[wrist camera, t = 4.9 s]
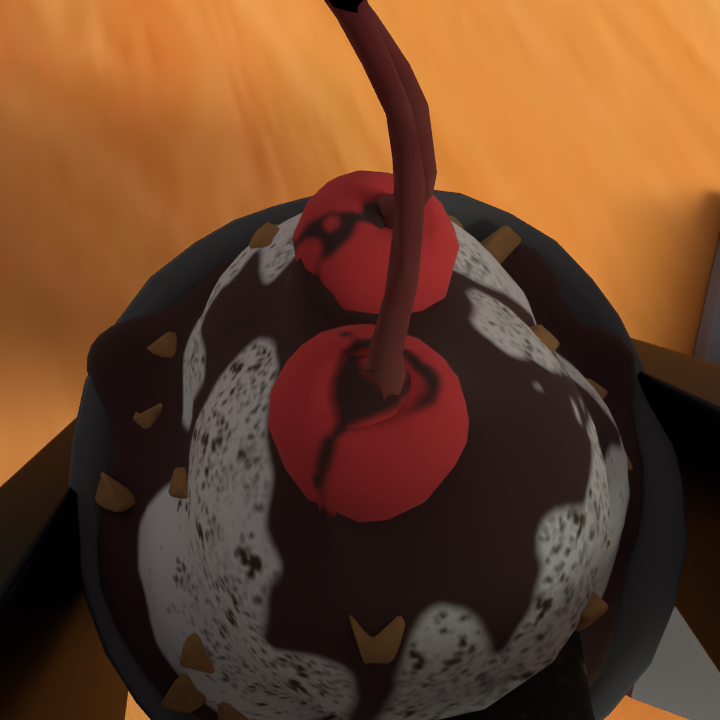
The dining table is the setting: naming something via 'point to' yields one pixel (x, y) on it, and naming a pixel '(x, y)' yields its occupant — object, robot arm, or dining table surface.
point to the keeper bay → (678, 644)
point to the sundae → (375, 461)
